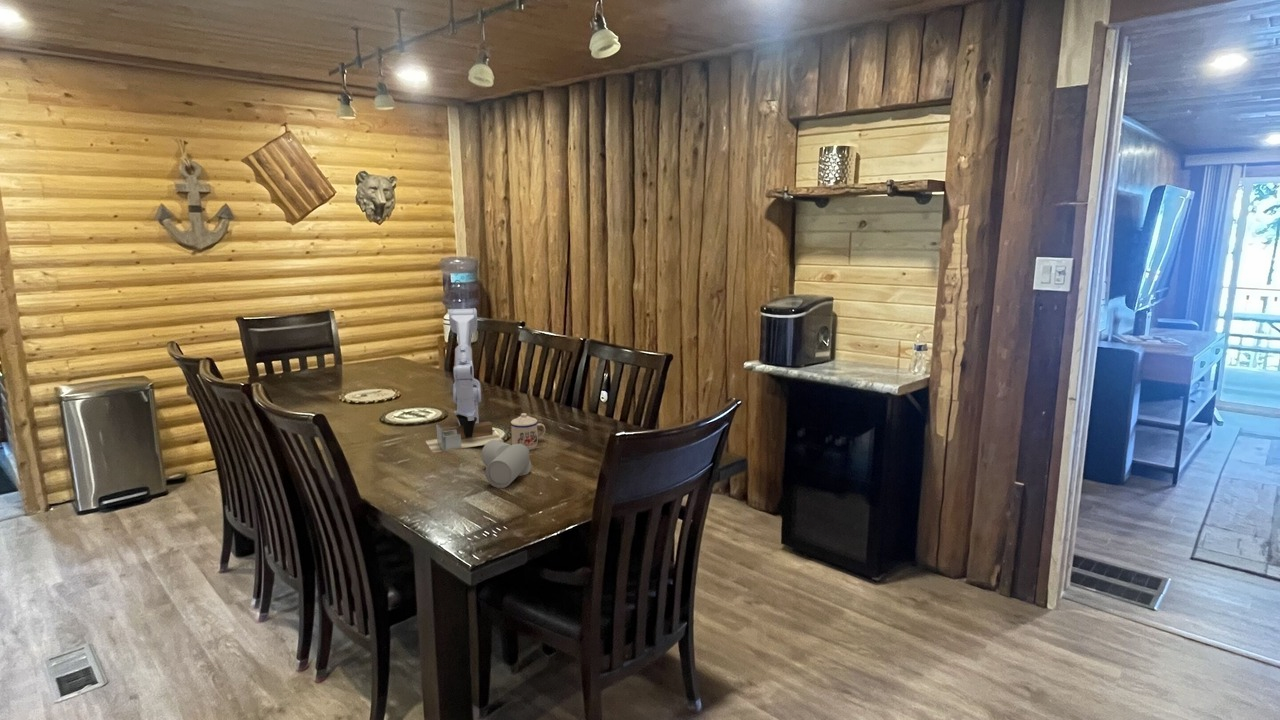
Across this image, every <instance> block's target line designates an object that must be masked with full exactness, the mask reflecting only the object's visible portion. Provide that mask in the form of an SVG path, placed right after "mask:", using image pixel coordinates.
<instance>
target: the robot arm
mask: <svg viewBox="0 0 1280 720" xmlns="http://www.w3.org/2000/svg"><path fill="white" fill-rule="evenodd" d="M448 322H449V325H450V329H451V332H452V333H454V334H456V335H457V342H458V343H457V344H458V345H457V346H456V347H455V349H454V366H453V378H454V382H453V384H452V385H453V387H452V396H453V397H452V399H453V403H454V404H456V405H457V406H456V410H454V411H453V413H454V414H455V416H456V419H457V423H458V426H461V425H463V428H464V433H465V436H466V438H468V437H472V434H473V429H474V425H475V423H480V421H479V420H480V419H479V403H481V402H482V391H481V390H482V389H481V388H482V387H481V382H480V381H479V380H478V379H477V378H475V377H474V376H475V374H474V373H475V372H474V371H475V370H474V364H473V349H472V335H473V334H474V333H475V332H477V329H478V311H477V309H476V307H473V308H450V309H449V310H448Z"/></svg>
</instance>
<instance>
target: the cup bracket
mask: <svg viewBox="0 0 1280 720" xmlns="http://www.w3.org/2000/svg"><path fill="white" fill-rule="evenodd" d="M435 426H436V428H435V429H436V439H437V443H438V446H439V447H440V448H441V450H442V452H445V451H444V450H448V451H450V450H449V449H455V450H457V449H456V448H461V435H460V434H457V430H449V431H443V430H442V429H441V428H442V427H441V426H440V425H439V424H436V425H435ZM461 449H462V448H461Z"/></svg>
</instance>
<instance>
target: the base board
mask: <svg viewBox="0 0 1280 720" xmlns="http://www.w3.org/2000/svg"><path fill="white" fill-rule="evenodd" d="M491 440H498V441H501V442H504V443H505V440H503V438H501V436H499V435H498V433H497V432H495V431H494V430H493V435H489V436H482V437H475V438H468V439H462V440H461V448H456V449H449V450H444V451H442V450H441V448H440V447H439V446H438V443H437V438H434V439H426V440H424V442H425V443H426V444H427V446H428V448H429V449H430V451H431V452H432V453H435V454H436V453H439V452H440V453H442V452H446V451H447V452H448V451H452V450H453V451H454V450H460V449H467V448H474V447H480V446H485V444H486V443H488V442H489V441H491Z"/></svg>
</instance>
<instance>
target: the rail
mask: <svg viewBox="0 0 1280 720" xmlns="http://www.w3.org/2000/svg"><path fill="white" fill-rule="evenodd" d="M441 429H442V430H443V431H449V430H457V434H460V435H461V440H462V439H468V438H475V437H482V436H489V435H493V431H494V430H493V423H492V422H491V421H483V422H479V423H475V425H474V429H473V434H472V437H468V438H466V436H465V433H464V428H463V425H461V426H459V425H455V426H447V427H441Z"/></svg>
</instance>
